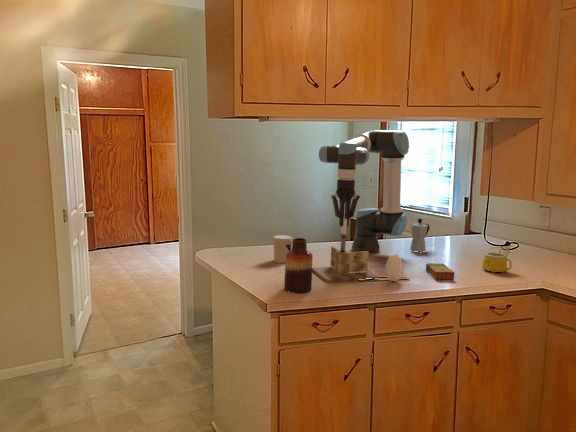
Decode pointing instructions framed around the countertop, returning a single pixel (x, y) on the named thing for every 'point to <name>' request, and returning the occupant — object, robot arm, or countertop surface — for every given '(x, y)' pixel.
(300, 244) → the vase
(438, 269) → the carton
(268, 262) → the countertop surface
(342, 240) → the hinge pin
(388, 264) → the egg
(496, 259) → the mug
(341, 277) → the hinge mount
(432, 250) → the countertop surface
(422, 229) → the coffee maker
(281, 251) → the coffee cup
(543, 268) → the countertop surface
